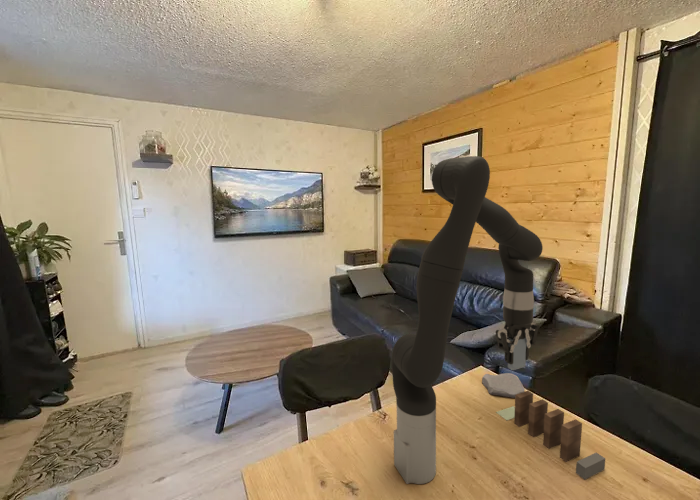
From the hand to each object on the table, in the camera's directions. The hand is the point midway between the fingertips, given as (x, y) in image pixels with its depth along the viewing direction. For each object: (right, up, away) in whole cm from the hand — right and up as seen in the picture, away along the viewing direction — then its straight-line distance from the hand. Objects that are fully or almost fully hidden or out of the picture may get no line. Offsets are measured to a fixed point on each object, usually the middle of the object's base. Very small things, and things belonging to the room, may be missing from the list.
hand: (516, 360), depth 91 cm
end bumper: (+8, -20, -17) cm, 28 cm away
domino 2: (+2, -18, 0) cm, 18 cm away
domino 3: (+4, -19, -4) cm, 19 cm away
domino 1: (0, -2, 0) cm, 2 cm away
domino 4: (+5, -19, -8) cm, 21 cm away
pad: (0, -18, +4) cm, 18 cm away
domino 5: (+7, -20, -12) cm, 24 cm away
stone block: (+4, -16, +16) cm, 23 cm away
